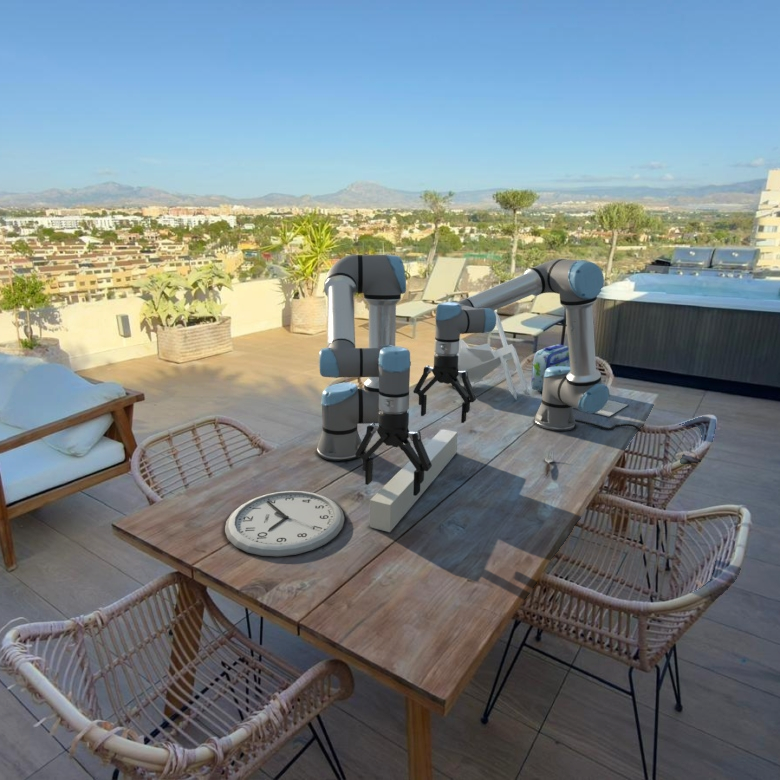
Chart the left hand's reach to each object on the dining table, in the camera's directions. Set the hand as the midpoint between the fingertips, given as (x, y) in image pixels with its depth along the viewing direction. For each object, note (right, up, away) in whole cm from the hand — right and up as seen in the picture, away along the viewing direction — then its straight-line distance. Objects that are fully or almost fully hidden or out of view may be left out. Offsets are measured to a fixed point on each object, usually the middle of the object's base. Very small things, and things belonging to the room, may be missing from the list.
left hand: (392, 488), depth 135 cm
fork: (+50, +1, +33) cm, 60 cm away
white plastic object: (+41, +24, +108) cm, 118 cm away
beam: (+8, -3, +20) cm, 22 cm away
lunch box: (+77, +26, +115) cm, 140 cm away
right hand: (+16, +16, +33) cm, 40 cm away
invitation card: (+91, +18, +91) cm, 130 cm away
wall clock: (-27, -9, -1) cm, 29 cm away
